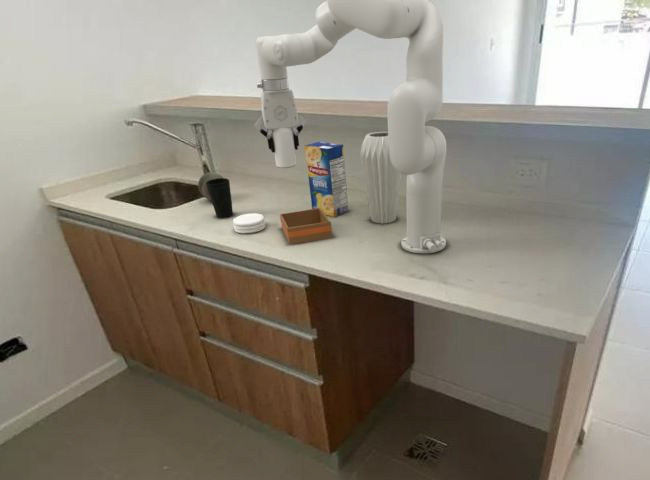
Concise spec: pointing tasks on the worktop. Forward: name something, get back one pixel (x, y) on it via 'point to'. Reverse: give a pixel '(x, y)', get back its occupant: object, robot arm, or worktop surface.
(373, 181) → the vase
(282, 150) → the can
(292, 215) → the wooden box
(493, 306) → the worktop surface
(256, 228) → the white round disc
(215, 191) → the cup
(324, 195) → the beverage box
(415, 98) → the robot arm
